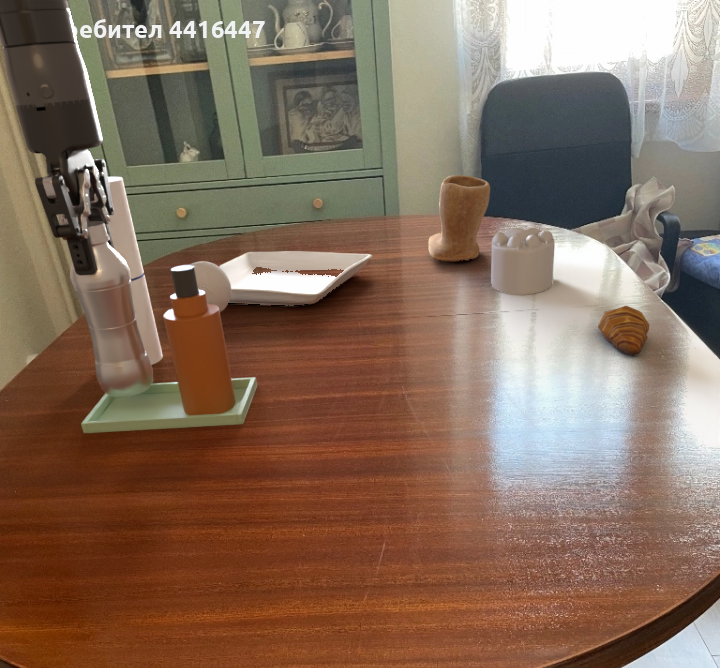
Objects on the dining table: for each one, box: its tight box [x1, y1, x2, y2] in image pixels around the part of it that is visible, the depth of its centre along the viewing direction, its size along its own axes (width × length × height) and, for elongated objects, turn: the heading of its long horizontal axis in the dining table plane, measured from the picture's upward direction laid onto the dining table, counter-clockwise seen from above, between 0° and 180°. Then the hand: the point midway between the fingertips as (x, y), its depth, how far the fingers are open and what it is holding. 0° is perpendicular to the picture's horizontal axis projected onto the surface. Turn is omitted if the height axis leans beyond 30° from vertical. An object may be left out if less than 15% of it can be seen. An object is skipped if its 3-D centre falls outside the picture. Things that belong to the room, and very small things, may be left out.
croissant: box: [597, 305, 650, 356], centre depth 98 cm, size 14×7×5 cm, turn 174°
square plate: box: [219, 250, 373, 307], centre depth 134 cm, size 27×27×4 cm
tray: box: [80, 376, 258, 434], centre depth 90 cm, size 19×11×2 cm, turn 88°
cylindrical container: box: [73, 176, 164, 366], centre depth 100 cm, size 7×7×25 cm
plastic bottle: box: [69, 221, 154, 397], centre depth 84 cm, size 6×7×20 cm
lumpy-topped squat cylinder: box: [490, 227, 556, 296], centre depth 124 cm, size 10×13×9 cm
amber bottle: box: [162, 264, 236, 415], centre depth 86 cm, size 6×6×17 cm
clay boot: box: [427, 174, 491, 262], centre depth 142 cm, size 15×12×15 cm
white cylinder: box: [189, 260, 231, 313], centre depth 98 cm, size 7×7×15 cm
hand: (96, 266), depth 82 cm, fingers closed on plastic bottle, 5 cm apart
